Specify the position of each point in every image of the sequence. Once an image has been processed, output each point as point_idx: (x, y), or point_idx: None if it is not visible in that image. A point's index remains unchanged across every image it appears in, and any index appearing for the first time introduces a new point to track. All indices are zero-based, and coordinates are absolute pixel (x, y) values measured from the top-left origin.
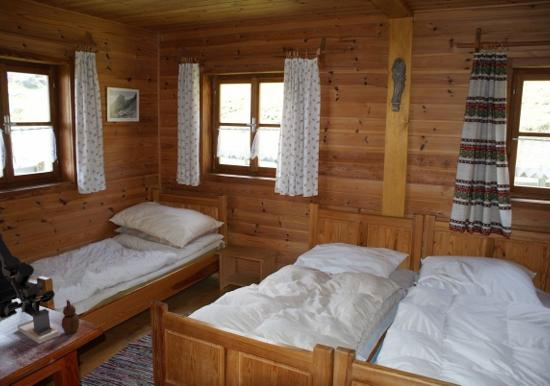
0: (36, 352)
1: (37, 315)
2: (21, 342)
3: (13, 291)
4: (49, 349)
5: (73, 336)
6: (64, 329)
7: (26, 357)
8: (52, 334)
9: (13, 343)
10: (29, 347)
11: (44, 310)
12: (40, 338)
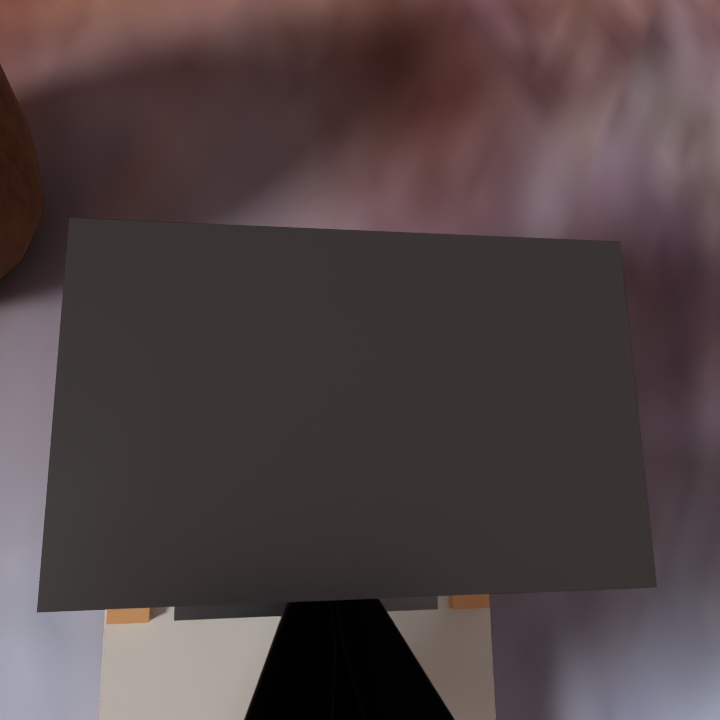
0: (562, 113)
1: (553, 243)
2: None
3: None
4: (426, 45)
5: (27, 72)
6: (38, 171)
7: (682, 108)
8: None
9: (687, 606)
10: None
11: (160, 431)
12: None
